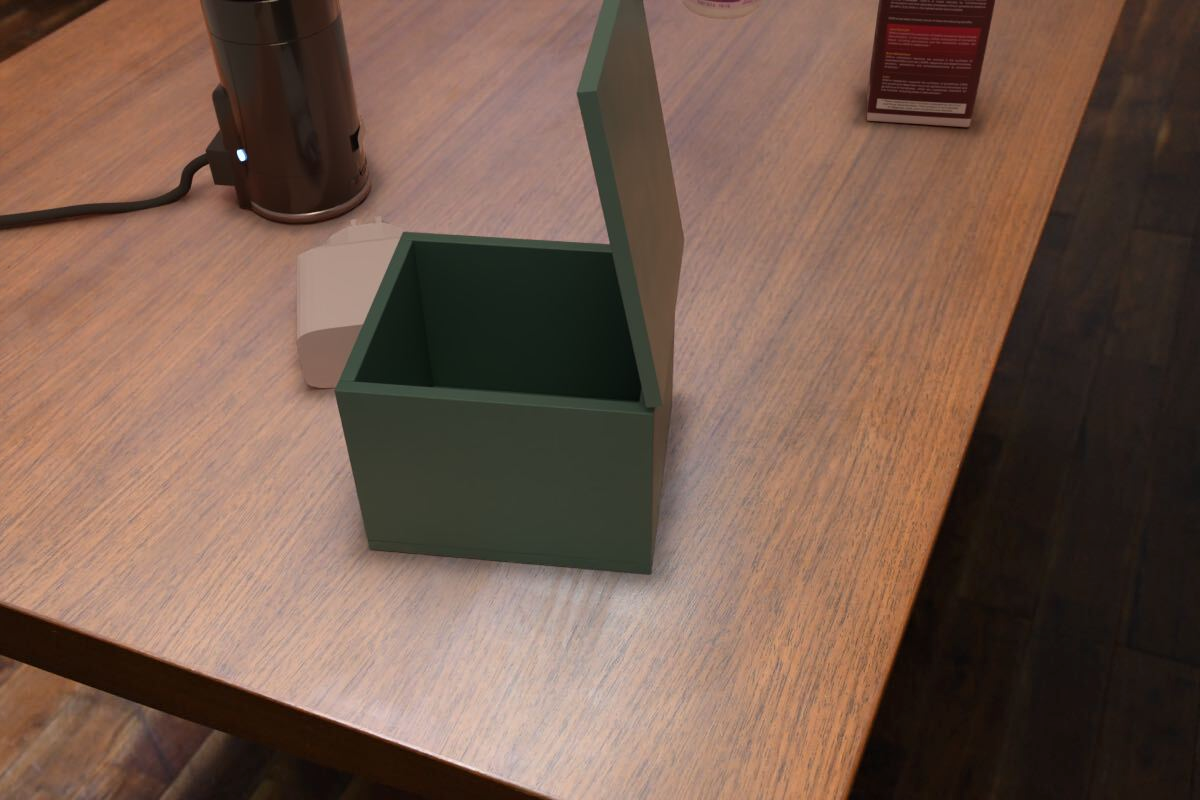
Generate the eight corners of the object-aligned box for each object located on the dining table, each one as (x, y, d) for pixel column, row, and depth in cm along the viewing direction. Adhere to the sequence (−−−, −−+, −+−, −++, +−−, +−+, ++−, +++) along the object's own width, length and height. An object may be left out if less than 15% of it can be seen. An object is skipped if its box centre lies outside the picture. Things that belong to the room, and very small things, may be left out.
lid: (575, 92, 46) (596, 90, 46) (617, -50, 56) (634, -52, 56) (646, 408, 57) (662, 407, 57) (670, 241, 67) (684, 240, 67)
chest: (368, 549, 67) (333, 390, 59) (426, 386, 77) (402, 230, 69) (651, 575, 65) (654, 414, 57) (672, 404, 75) (677, 247, 67)
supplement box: (967, 101, 102) (1007, -89, 92) (970, 130, 99) (1011, -65, 88) (863, 93, 103) (890, -95, 93) (862, 122, 100) (890, -71, 89)
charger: (434, 240, 88) (453, 372, 77) (306, 255, 87) (307, 391, 76) (427, 184, 85) (446, 314, 74) (294, 199, 84) (293, 333, 73)
